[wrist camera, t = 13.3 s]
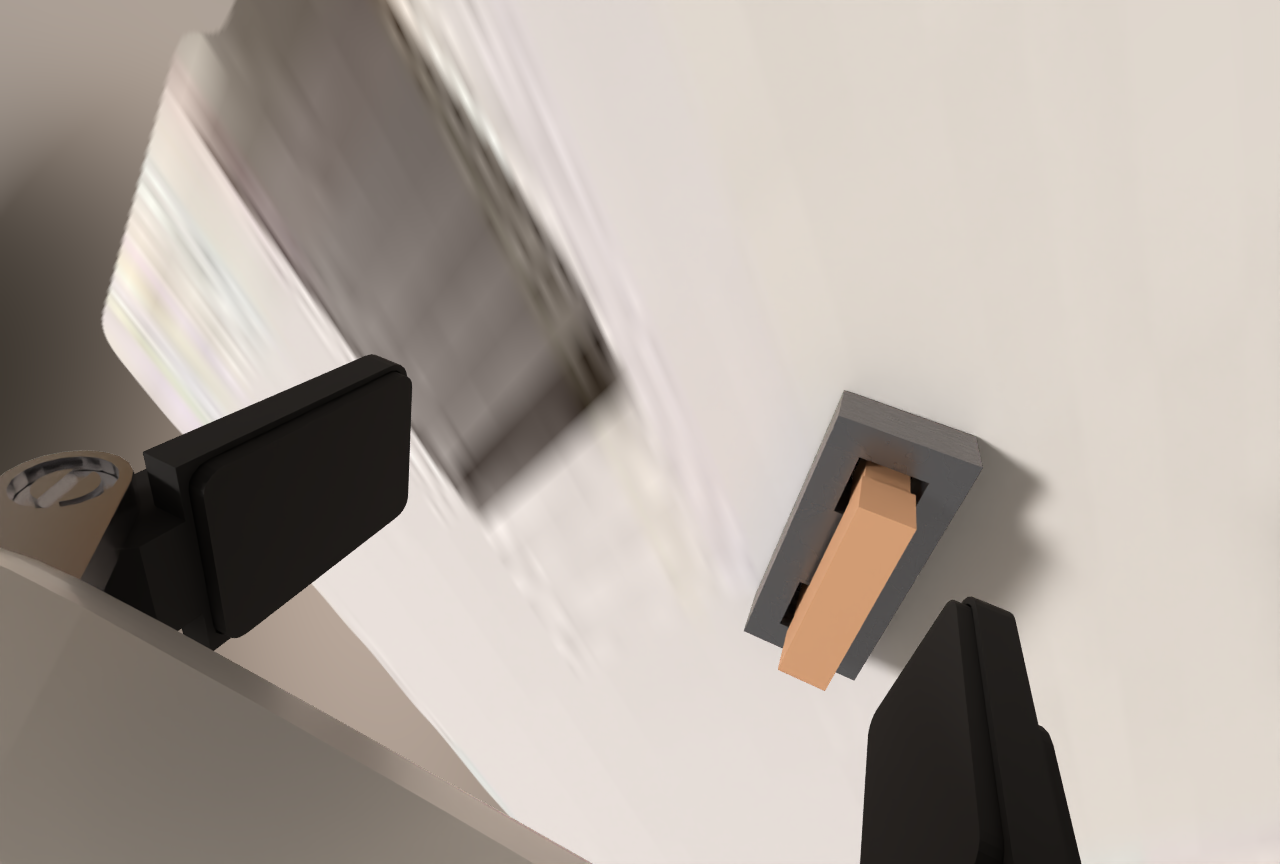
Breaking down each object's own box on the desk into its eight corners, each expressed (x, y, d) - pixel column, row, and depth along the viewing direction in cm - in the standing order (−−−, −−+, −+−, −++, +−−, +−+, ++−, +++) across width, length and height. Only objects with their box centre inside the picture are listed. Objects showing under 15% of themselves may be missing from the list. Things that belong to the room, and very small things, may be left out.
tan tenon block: (914, 455, 39) (916, 529, 32) (837, 602, 46) (824, 691, 38) (867, 437, 40) (858, 506, 33) (797, 585, 46) (777, 669, 39)
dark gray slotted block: (976, 436, 37) (982, 467, 34) (858, 640, 46) (854, 680, 43) (844, 390, 39) (838, 415, 36) (755, 595, 48) (743, 630, 45)
